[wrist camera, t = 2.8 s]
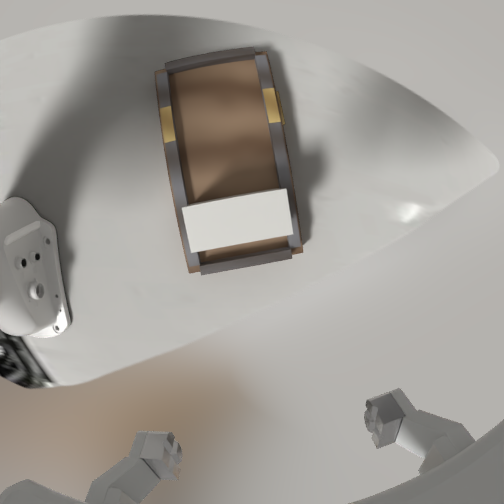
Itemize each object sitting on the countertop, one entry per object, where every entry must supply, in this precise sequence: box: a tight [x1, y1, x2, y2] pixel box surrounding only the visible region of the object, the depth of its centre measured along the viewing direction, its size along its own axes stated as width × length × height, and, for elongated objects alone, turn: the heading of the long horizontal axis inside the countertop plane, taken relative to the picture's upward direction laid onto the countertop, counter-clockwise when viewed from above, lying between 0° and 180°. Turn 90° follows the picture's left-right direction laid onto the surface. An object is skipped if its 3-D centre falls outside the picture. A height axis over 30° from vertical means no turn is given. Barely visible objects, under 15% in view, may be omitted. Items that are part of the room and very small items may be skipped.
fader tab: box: [182, 189, 293, 253], centre depth 26 cm, size 4×9×6 cm, turn 100°
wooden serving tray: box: [155, 47, 303, 275], centre depth 28 cm, size 24×13×4 cm, turn 10°
